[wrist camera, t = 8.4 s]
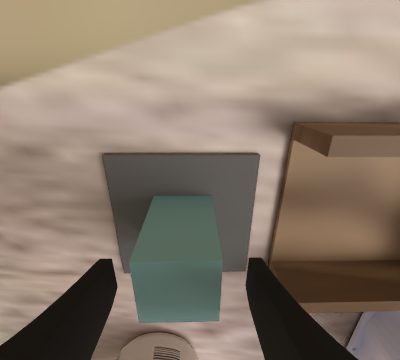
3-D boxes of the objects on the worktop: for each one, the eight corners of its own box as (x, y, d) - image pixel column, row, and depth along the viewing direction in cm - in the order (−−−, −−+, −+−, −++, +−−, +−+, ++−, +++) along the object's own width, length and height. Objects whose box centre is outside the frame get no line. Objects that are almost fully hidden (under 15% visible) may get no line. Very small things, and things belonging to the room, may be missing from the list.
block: (210, 241, 16) (218, 321, 11) (158, 242, 16) (139, 322, 10) (211, 195, 14) (222, 260, 9) (153, 195, 14) (128, 262, 9)
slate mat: (244, 267, 18) (245, 271, 17) (125, 269, 17) (124, 272, 17) (258, 153, 14) (260, 155, 13) (104, 153, 14) (102, 155, 13)
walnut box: (404, 265, 18) (458, 309, 14) (267, 267, 18) (286, 313, 14) (479, 123, 13) (588, 136, 10) (294, 122, 13) (333, 135, 9)
